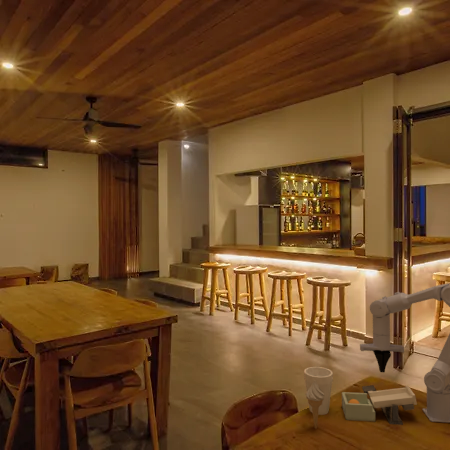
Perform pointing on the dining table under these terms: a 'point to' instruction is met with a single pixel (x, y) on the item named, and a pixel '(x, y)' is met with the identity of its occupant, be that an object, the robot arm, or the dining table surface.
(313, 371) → the foam cup
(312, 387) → the ice cream cone
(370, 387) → the lever board
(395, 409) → the lever stand
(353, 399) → the ball
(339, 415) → the dining table surface
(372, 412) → the cup
